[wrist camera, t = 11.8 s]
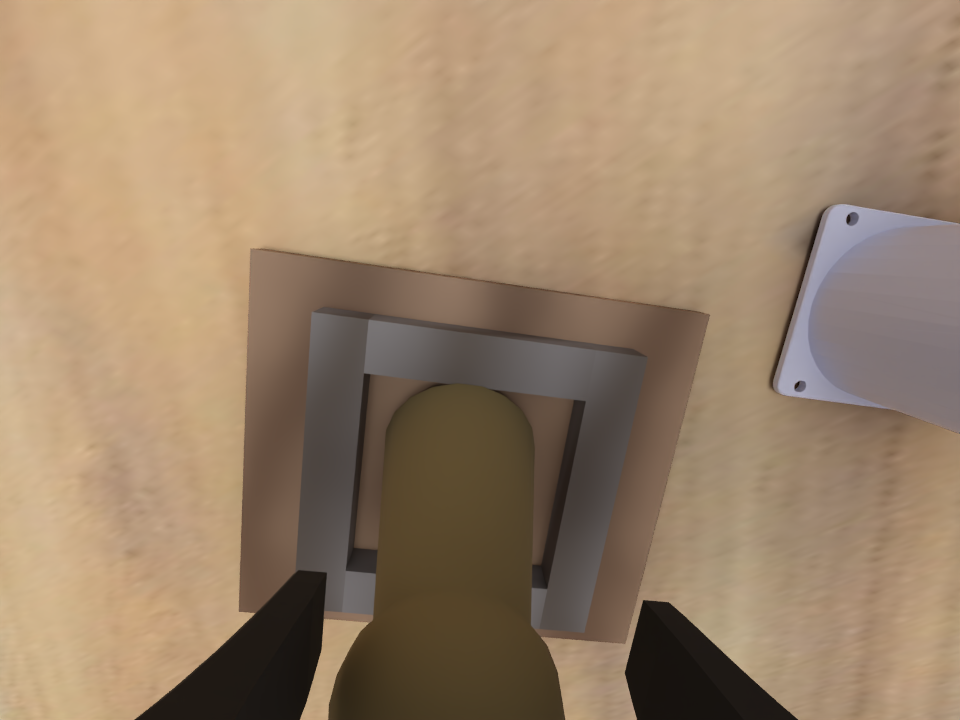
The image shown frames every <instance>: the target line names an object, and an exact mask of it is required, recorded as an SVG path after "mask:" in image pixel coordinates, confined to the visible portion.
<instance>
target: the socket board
mask: <svg viewBox="0 0 960 720" xmlns="http://www.w3.org/2000/svg"><path fill="white" fill-rule="evenodd" d="M709 316H710V315H709V314H705V313H701V312H697V311H690V310H683V309H676V308H669V307H662V306H655V305H649V304H642V303H635V302H628V301H621V300H614V299H607V298H600V297H593V296H586V295H579V294H572V293H565V292H558V291H551V290H544V289H537V288H530V287H523V286H516V285H510V284H503V283H496V282H489V281H482V280H475V279H468V278H461V277H454V276H447V275H440V274H433V273H426V272H419V271H412V270H405V269H398V268H391V267H384V266H377V265H371V264H364V263H357V262H350V261H343V260H336V259H329V258H322V257H315V256H308V255H301V254H294V253H287V252H280V251H273V250H266V249H251V252H250V283H249V314H248V345H247V376H246V407H245V438H244V468H243V499H242V530H241V561H240V592H239V612H250V613H256V612H257V611H258V610H259V609H260V608H261V607H262V606H263V605H264V604H265V603H266V602H267V601H268V600H269V599H270V598H271V597H272V596H273V595H274V594H275V593H276V592H277V591H278V590H279V589H280V588H281V587H282V586H283V585H284V584H285V582H286V581H287V580H288V579H289V578H290V577H291V576H292V575H293V574H294V573H296V572H297V571H298V570H305V571H316V572H327V580H326V594H325V607H324V619H334V620H346V621H358V622H371V621H372V620H373V611H374V596H375V582H376V567H377V553H378V538H379V524H380V509H381V494H382V480H383V465H384V451H385V436H386V429H387V427H388V425H389V423H390V421H391V419H392V417H393V415H394V413H395V411H396V410H398V409H399V408H400V407H401V406H402V405H403V404H404V403H405V402H406V401H407V400H408V399H409V398H410V397H412V396H414V395H416V394H419V393H421V392H423V391H425V390H427V389H429V388H432V387H436V386H443V385H450V384H456V383H459V384H467V385H475V386H483V387H485V388H487V389H490V390H492V391H495V392H497V393H499V394H502V395H504V396H506V397H507V398H508V399H509V400H510V401H512V402H513V403H514V404H515V405H516V406H517V407H519V408H520V409H521V410H522V411H523V413H524V415H525V416H526V418H527V420H528V422H529V423H530V425H531V427H532V430H533V437H534V444H535V462H534V508H533V553H532V598H531V626H532V627H533V628H534V629H535V631H536V632H537V633H538V635H539V636H540V637H550V638H562V639H574V640H586V641H598V642H610V643H622V644H625V643H626V639H627V635H628V631H629V627H630V624H631V620H632V616H633V612H634V608H635V604H636V600H637V596H638V592H639V589H640V585H641V581H642V577H643V573H644V569H645V565H646V561H647V557H648V554H649V550H650V546H651V542H652V538H653V534H654V530H655V526H656V522H657V519H658V515H659V511H660V507H661V503H662V499H663V495H664V491H665V487H666V484H667V480H668V476H669V472H670V468H671V464H672V460H673V456H674V452H675V449H676V445H677V441H678V437H679V433H680V429H681V425H682V421H683V417H684V414H685V410H686V406H687V402H688V398H689V394H690V390H691V386H692V382H693V379H694V375H695V371H696V367H697V363H698V359H699V355H700V351H701V347H702V344H703V340H704V336H705V332H706V328H707V324H708V320H709Z"/></svg>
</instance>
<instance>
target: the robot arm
mask: <svg viewBox="0 0 960 720" xmlns="http://www.w3.org/2000/svg"><path fill="white" fill-rule="evenodd" d="M848 214H849V215H850V217H851V220H850V222H849V224H848V225H847V223H846V217H847V216H848ZM798 381H800V383H799V386H798V388H796V389H794V385H795V384H796V382H798ZM773 388H774V390H775V391H776V392H778V393H780V394H782V395H785V396H792V397H800V398H808V399H815V400H823V401H830V402H838V403H846V404H853V405H861V406H869V407H876V408H884V409H892V410H896V411H898V412H901V413H904V414H907V415H909V416H912V417H915V418H918V419H920V420H923V421H926V422H929V423H931V424H934V425H937V426H940V427H942V428H945V429H948V430H951V431H953V432H956V433H959V434H960V223H954V222H948V221H942V220H936V219H930V218H924V217H918V216H912V215H906V214H900V213H894V212H888V211H882V210H876V209H870V208H864V207H858V206H852V205H846V204H838V205H832V206H830V207H828V208H827V209H826V210H825V211H824V213H823V216H822V219H821V222H820V225H819V229H818V232H817V236H816V239H815V242H814V246H813V249H812V252H811V256H810V259H809V262H808V266H807V269H806V272H805V276H804V279H803V283H802V286H801V289H800V293H799V296H798V299H797V303H796V306H795V309H794V313H793V316H792V320H791V323H790V326H789V330H788V333H787V336H786V340H785V343H784V346H783V350H782V353H781V357H780V360H779V363H778V367H777V370H776V373H775V377H774V380H773ZM326 580H327V572H316V571H305V570H298V571H297V572H296V573H294V574H293V575H292V576H291V577H290V578H289V579H288V580H287V581H286V582H285V584H284V585H283V586H282V587H281V588H280V589H279V590H278V591H277V592H276V593H275V594H274V595H273V596H272V597H271V598H270V599H269V600H268V601H267V602H266V603H265V604H264V605H263V606H262V607H261V608H260V609H259V610H258V611H257V612H256V614H255V615H254V616H253V617H252V618H250V619H249V620H248V621H247V622H246V623H245V624H244V625H243V626H242V627H241V628H240V629H239V630H238V631H237V632H236V633H235V634H234V635H233V636H232V637H231V638H230V639H229V640H228V641H227V642H225V643H224V644H223V645H222V646H221V647H220V648H219V649H218V650H217V651H216V652H215V653H213V654H212V655H211V656H210V657H209V658H208V659H207V660H206V661H204V662H203V663H202V664H201V665H200V666H199V667H198V668H196V669H195V670H194V671H193V672H192V673H191V674H190V675H188V676H187V677H186V678H185V679H184V680H183V681H182V682H181V683H179V684H178V685H177V686H176V687H175V688H173V689H172V690H171V691H170V692H169V693H167V694H166V695H165V696H164V697H162V698H161V699H160V700H159V701H158V702H156V703H155V704H154V705H153V706H151V707H150V708H149V709H148V710H146V711H145V712H144V713H143V714H141V715H140V716H139V717H137V718H136V719H135V720H300V717H301V715H302V712H303V710H304V707H305V704H306V702H307V698H308V695H309V691H310V688H311V685H312V681H313V678H314V674H315V671H316V667H317V664H318V660H319V656H320V653H321V648H322V634H323V621H324V607H325V594H326ZM625 675H626V679H627V683H628V687H629V691H630V695H631V699H632V703H633V706H634V710H635V714H636V717H637V720H798V719H797V718H796V717H794V716H793V715H792V714H791V713H790V712H789V711H787V710H786V709H785V708H784V707H783V706H781V705H780V704H779V703H778V702H777V701H776V700H775V699H774V698H772V697H771V696H770V695H769V694H768V693H767V692H766V691H764V690H763V689H762V688H761V687H760V686H759V685H758V684H757V683H756V682H755V681H753V680H752V679H751V678H750V677H749V676H748V675H747V674H746V673H745V672H744V671H742V670H741V669H740V668H739V667H738V666H737V665H736V664H735V663H734V662H733V661H732V660H731V659H730V658H728V657H727V656H726V655H725V654H724V653H723V652H722V651H721V650H720V649H719V648H718V647H717V646H716V645H715V644H714V643H713V642H711V641H710V640H709V639H708V638H707V637H706V636H705V635H704V634H703V633H702V632H701V631H700V630H699V629H698V628H697V627H696V626H694V625H693V624H692V623H691V622H690V621H689V620H688V619H687V618H686V617H685V616H684V615H683V614H681V613H680V612H679V611H678V610H677V609H676V608H675V607H674V606H672V605H671V604H670V603H669V602H658V601H647V600H643V604H642V607H641V611H640V615H639V619H638V623H637V627H636V631H635V635H634V639H633V643H632V647H631V651H630V655H629V658H628V662H627V666H626V670H625Z"/></svg>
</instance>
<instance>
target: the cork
mask: <svg viewBox="0 0 960 720" xmlns="http://www.w3.org/2000/svg"><path fill="white" fill-rule="evenodd" d="M534 462H535V444H534V437H533V430H532V427H531V425H530V423H529V422H528V420H527V418H526V416H525V415H524V413H523V411H522V410H521V409H520V408H519V407H517V406H516V405H515V404H514V403H513V402H512V401H510V400H509V399H508V398H507V397H506V396H504V395H502V394H499V393H497V392H495V391H492V390H490V389H487V388H485V387H483V386H475V385H467V384H459V383H456V384H450V385H443V386H436V387H432V388H429V389H427V390H425V391H423V392H421V393H419V394H416V395H414V396H412V397H410V398H409V399H408V400H407V401H406V402H405V403H404V404H403V405H402V406H401V407H400V408H399V409H398V410H396V411H395V413H394V415H393V417H392V419H391V421H390V423H389V425H388V427H387V429H386V436H385V451H384V465H383V480H382V494H381V509H380V524H379V538H378V553H377V567H376V582H375V596H374V611H373V620H372V621H371V622H370V623H369V624H368V625H367V626H366V627H365V628H364V629H363V630H362V631H361V632H360V633H359V635H358V637H357V638H356V640H355V641H354V643H353V645H352V646H351V648H350V650H349V652H348V654H347V656H346V658H345V660H344V662H343V664H342V666H341V668H340V670H339V672H338V674H337V676H336V680H335V684H334V688H333V692H332V695H331V699H330V703H329V719H328V720H565V715H564V709H563V703H562V697H561V690H560V684H559V678H558V672H557V669H556V667H555V664H554V662H553V659H552V657H551V654H550V652H549V649H548V647H547V645H546V644H545V642H544V641H543V640H542V638H541V637H540V636H539V635H538V633H537V632H536V631H535V629H534V628H533V627H532V626H531V598H532V553H533V508H534Z"/></svg>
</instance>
